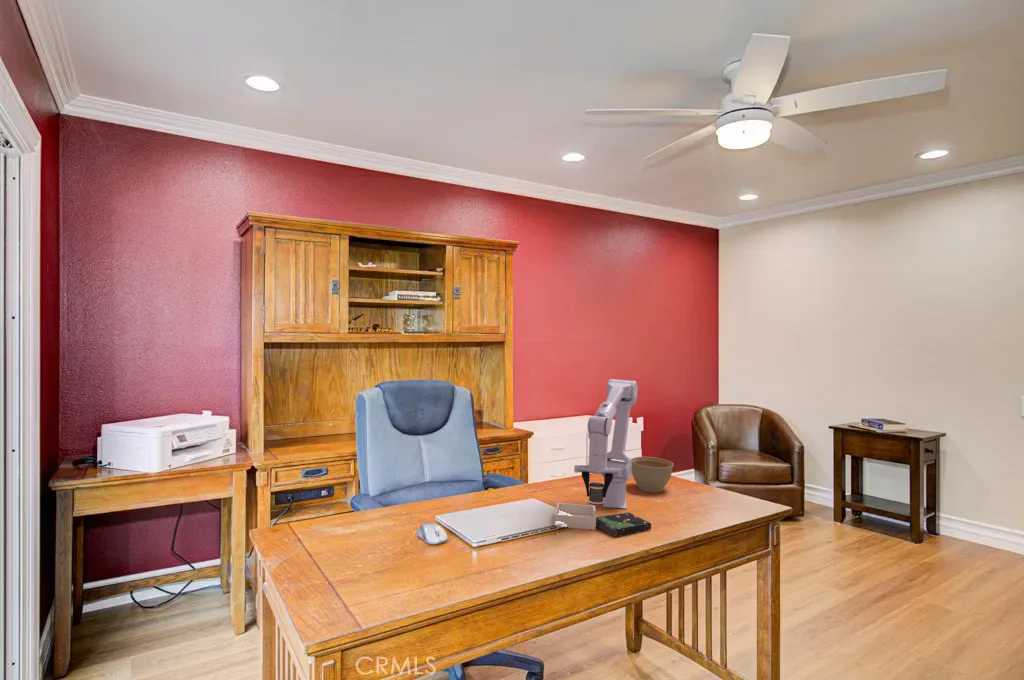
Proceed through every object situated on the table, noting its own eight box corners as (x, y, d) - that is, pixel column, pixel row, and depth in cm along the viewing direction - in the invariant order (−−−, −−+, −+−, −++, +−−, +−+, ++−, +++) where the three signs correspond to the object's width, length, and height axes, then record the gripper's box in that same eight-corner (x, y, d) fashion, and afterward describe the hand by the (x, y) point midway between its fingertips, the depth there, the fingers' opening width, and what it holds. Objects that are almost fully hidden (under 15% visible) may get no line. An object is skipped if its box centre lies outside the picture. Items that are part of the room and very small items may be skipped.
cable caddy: (556, 512, 187) (556, 502, 187) (594, 516, 185) (595, 505, 185) (554, 526, 174) (555, 515, 174) (595, 530, 173) (596, 518, 173)
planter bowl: (621, 488, 218) (623, 461, 218) (641, 481, 230) (642, 454, 230) (660, 498, 208) (662, 469, 207) (678, 489, 220) (680, 462, 220)
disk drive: (627, 520, 184) (593, 525, 176) (628, 512, 184) (594, 516, 176) (651, 532, 175) (616, 537, 167) (652, 523, 175) (617, 528, 167)
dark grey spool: (588, 500, 182) (589, 481, 182) (603, 501, 181) (603, 482, 181) (588, 504, 177) (589, 485, 177) (603, 505, 177) (604, 486, 177)
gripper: (575, 455, 176) (573, 498, 176) (622, 458, 174) (620, 501, 175) (575, 450, 183) (573, 491, 183) (620, 453, 181) (618, 495, 182)
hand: (596, 496), depth 179 cm, fingers closed on dark grey spool, 4 cm apart
